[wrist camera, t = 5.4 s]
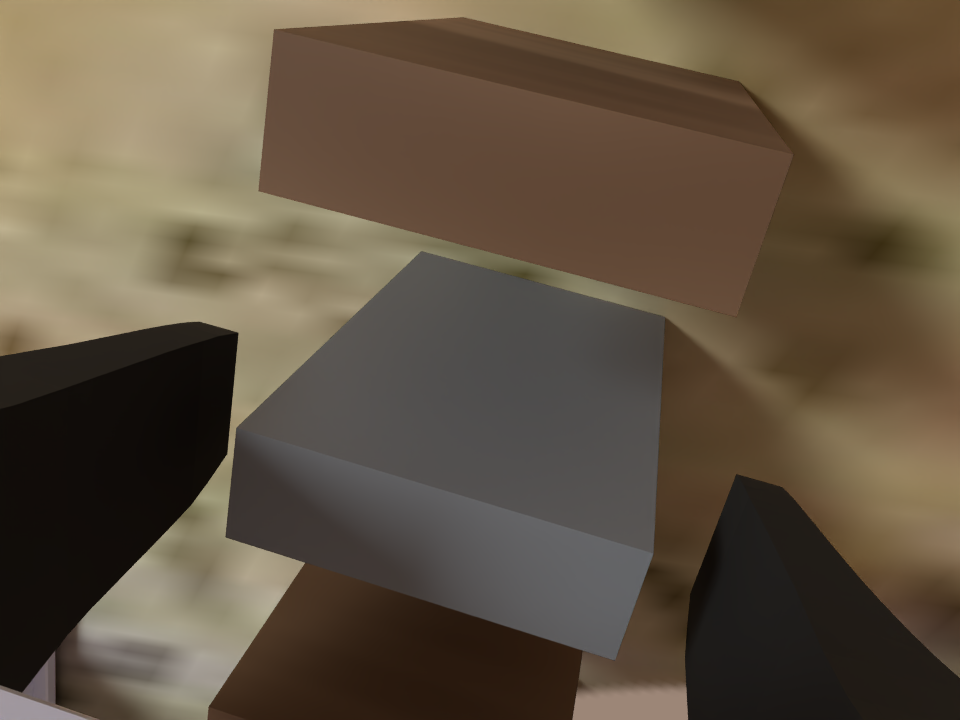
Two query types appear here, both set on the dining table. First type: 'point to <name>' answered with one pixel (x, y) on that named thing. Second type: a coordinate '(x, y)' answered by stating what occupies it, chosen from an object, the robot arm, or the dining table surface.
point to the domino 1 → (528, 151)
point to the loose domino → (469, 452)
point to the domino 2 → (392, 661)
